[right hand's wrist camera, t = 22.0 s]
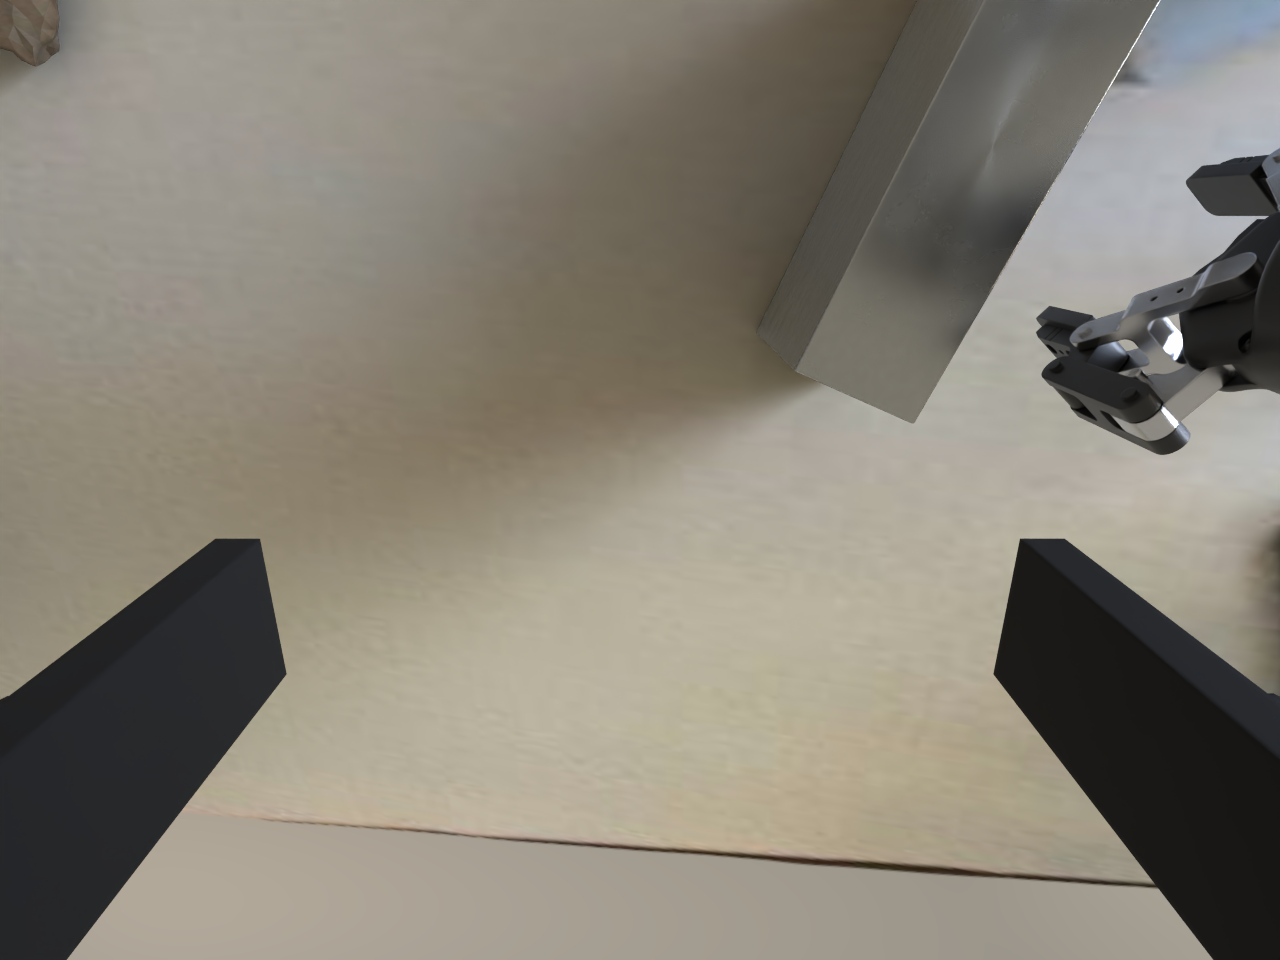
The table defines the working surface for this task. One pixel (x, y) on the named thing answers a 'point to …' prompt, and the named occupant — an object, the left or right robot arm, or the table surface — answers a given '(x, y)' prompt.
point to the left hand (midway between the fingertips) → (1125, 261)
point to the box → (942, 187)
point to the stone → (30, 29)
